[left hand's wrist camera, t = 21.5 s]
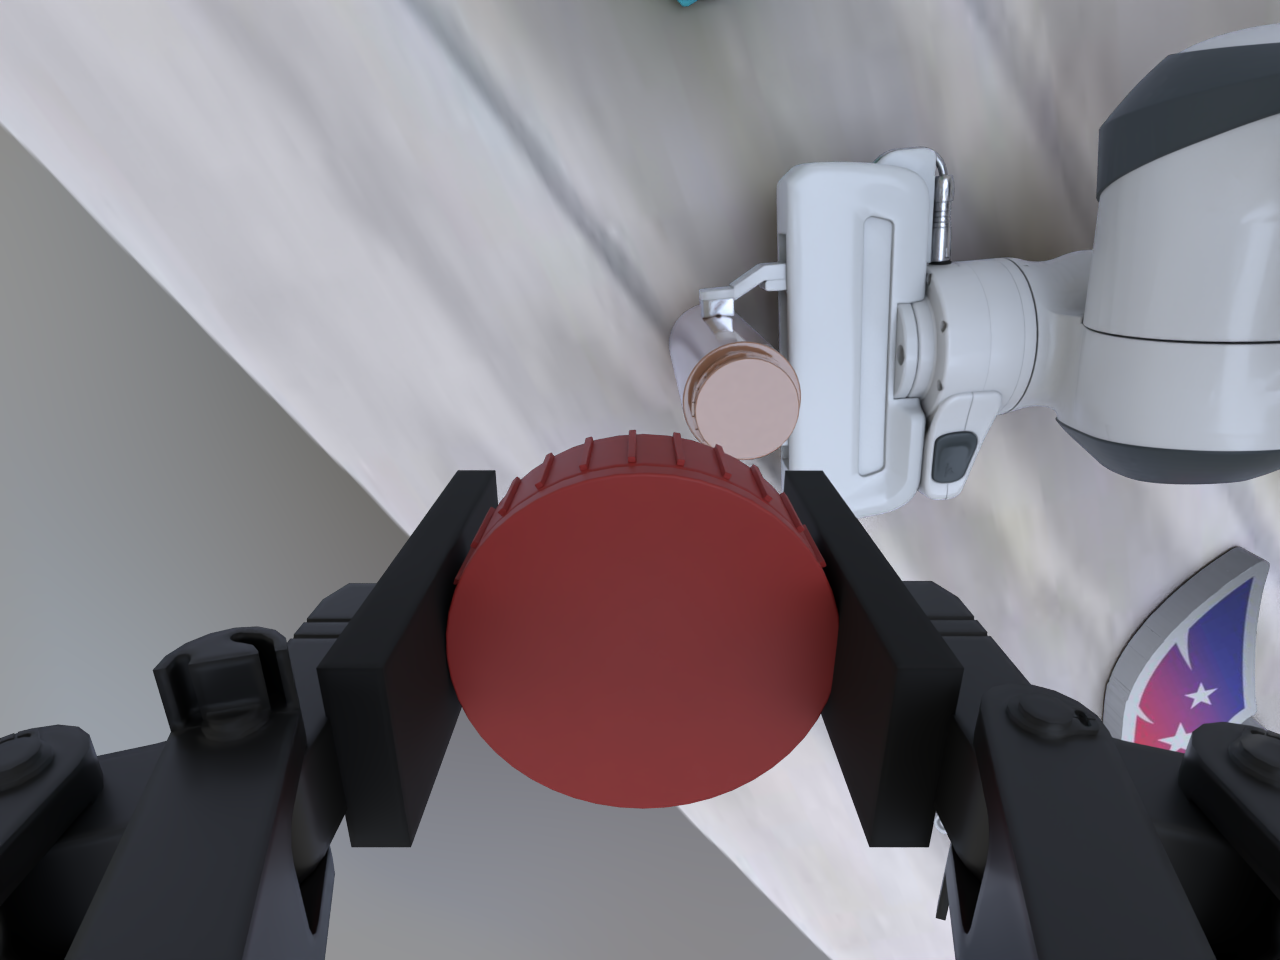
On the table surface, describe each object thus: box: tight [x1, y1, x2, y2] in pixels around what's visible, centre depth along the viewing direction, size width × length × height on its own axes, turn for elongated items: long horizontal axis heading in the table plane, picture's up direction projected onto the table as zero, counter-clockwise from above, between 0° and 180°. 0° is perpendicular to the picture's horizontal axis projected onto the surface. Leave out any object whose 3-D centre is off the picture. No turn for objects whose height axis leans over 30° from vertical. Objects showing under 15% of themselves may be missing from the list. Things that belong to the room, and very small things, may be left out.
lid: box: [446, 430, 839, 809], centre depth 11 cm, size 6×6×2 cm
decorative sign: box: [934, 547, 1270, 834], centre depth 57 cm, size 34×2×30 cm
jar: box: [669, 304, 801, 460], centre depth 38 cm, size 5×5×18 cm
